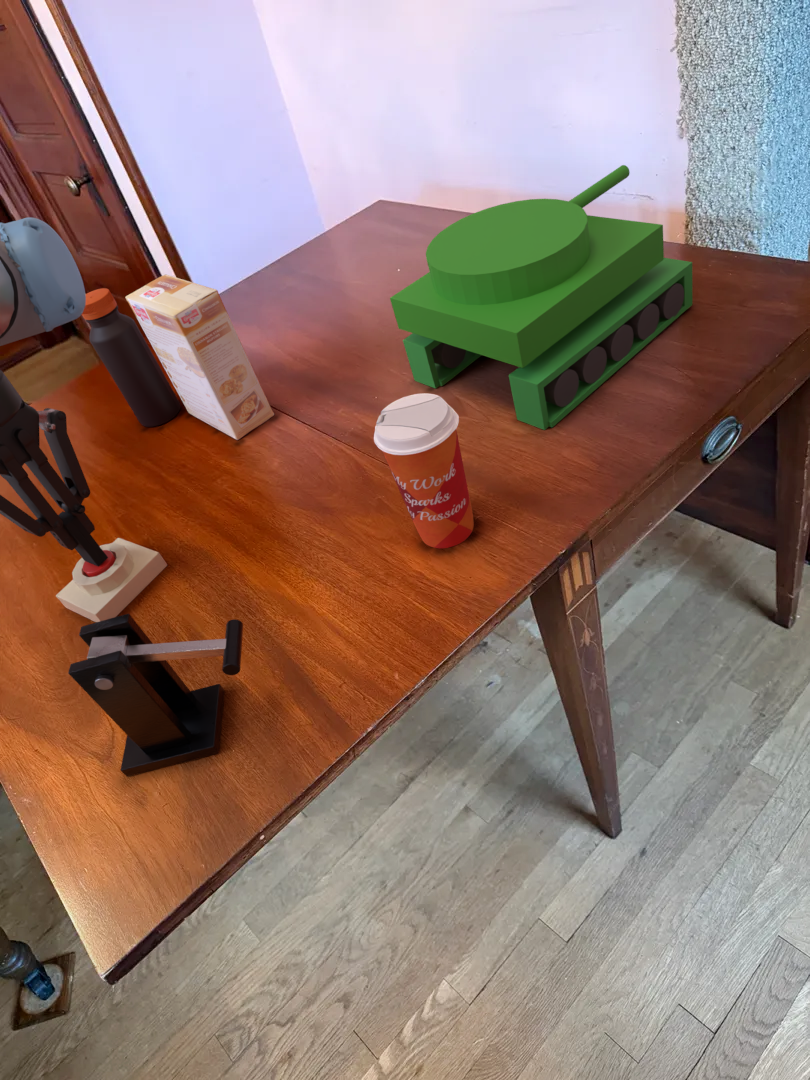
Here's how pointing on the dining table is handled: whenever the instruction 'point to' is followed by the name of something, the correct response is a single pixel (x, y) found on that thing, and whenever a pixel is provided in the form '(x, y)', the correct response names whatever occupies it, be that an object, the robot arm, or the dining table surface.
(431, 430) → the coffee cup
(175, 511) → the dining table surface
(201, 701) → the switch bracket
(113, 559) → the red button
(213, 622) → the dining table surface
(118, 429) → the dining table surface
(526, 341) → the tank
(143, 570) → the button housing
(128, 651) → the switch lever
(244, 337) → the dining table surface
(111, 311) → the bottle
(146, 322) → the coffeecake box
